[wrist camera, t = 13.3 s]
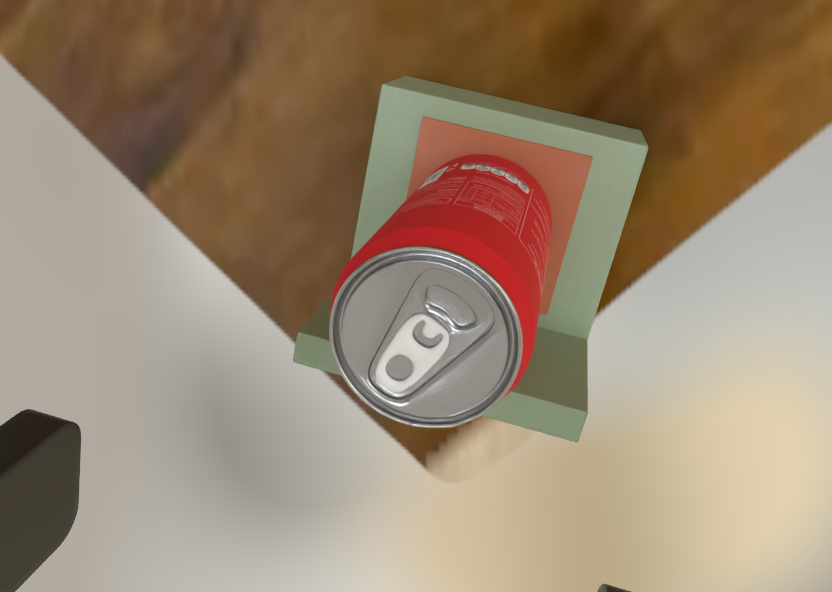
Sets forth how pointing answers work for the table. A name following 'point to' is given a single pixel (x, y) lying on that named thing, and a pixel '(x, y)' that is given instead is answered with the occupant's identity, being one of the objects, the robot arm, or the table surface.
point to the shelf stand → (570, 210)
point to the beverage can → (446, 295)
